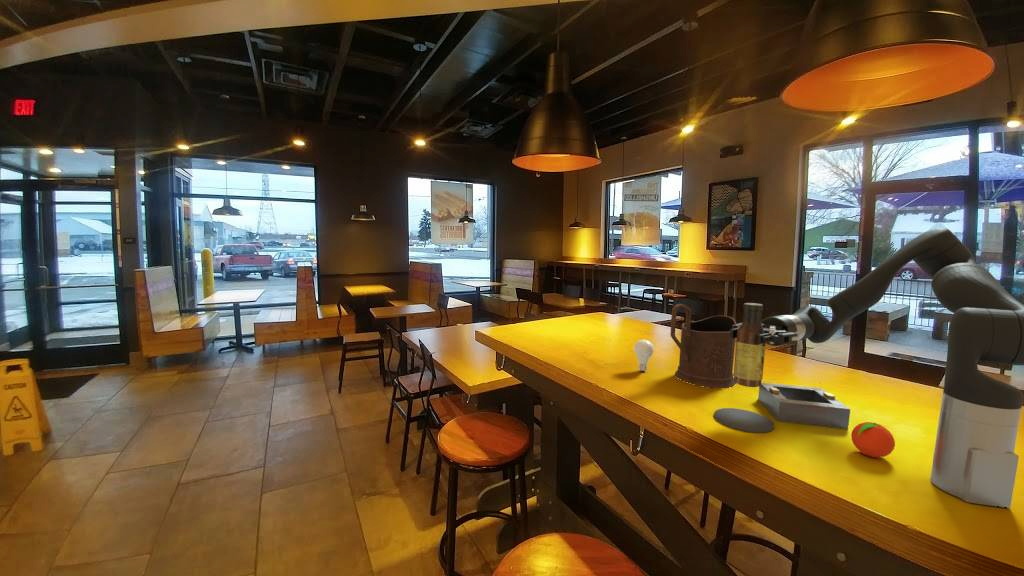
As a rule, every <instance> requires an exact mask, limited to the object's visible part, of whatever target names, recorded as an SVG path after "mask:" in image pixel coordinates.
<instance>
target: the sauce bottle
mask: <svg viewBox="0 0 1024 576" xmlns="http://www.w3.org/2000/svg"><path fill="white" fill-rule="evenodd" d="M763 311H764V305H763V304H762V303H755V302H745V303H743V319H742V322H741V323H742V324H741V326H740V327H739V328H738V330H737V338H736V339H735V349H734V361H733V374H734V375H733V378H734V382H735V383H736V385H739V386H743V387H746V388H747V387H748V388H759V386H760V385H761V382H762V380H763V378H764V377H763V376H764V365H765V355H766V354H765V353H766V344H758V343H757V340H758V335H760V334H765V333H764V330H763V326H762V323H761V321H762V315H763V314H762V312H763Z"/></svg>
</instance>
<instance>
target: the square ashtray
mask: <svg viewBox="0 0 1024 576" xmlns="http://www.w3.org/2000/svg"><path fill="white" fill-rule="evenodd" d="M757 395H758V398H757V400H758V401H759V402H760V403H761V404H762V406H764V407H765V409H766V410H767V411H768V412H769V413H770V415H772V417H774V418H775V420H776V421H777V422H780V423H781V422H783V423H790V424H800V425H807V426H808V425H810V426H818V427H825V428H826V427H827V428H834V429H835V428H836V429H843V430H844V429H845V430H849V425H850V424H849V423H850V417H851V408H850V407H848V406H847V405H845V404H844V403H842V402H841V401H839V399H837V398H836V396H835V395H834V394H833V393H831V392H827V391H825V390H824V389H823V388H822V387H815V386H814V387H813V386H803V385H792V384H781V383H773V382H772V383H771V382H763V381H761V385H760V386H759V387H758V394H757Z"/></svg>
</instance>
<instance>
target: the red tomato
mask: <svg viewBox="0 0 1024 576" xmlns="http://www.w3.org/2000/svg"><path fill="white" fill-rule="evenodd" d="M850 437H851V438H850V439H851V441H852V444H853V445H854V446H855V448H856V449H857V451H859V452H861V453H862V454H863V455H866V456H869V457H872V458H884V457H887V456H888V455H891V453H893V451H894V449H895V447H896V441H895V438H894V434H892V433H891V431H890V430H888V429H887V428H886V427H885V426H883V425H881V424H878V423H876V422H872V421H871V422H869V421H866V422H863V423H862V422H861V423H859V424H857V425H855V426H854V427H853V429H852V431H851V433H850Z"/></svg>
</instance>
